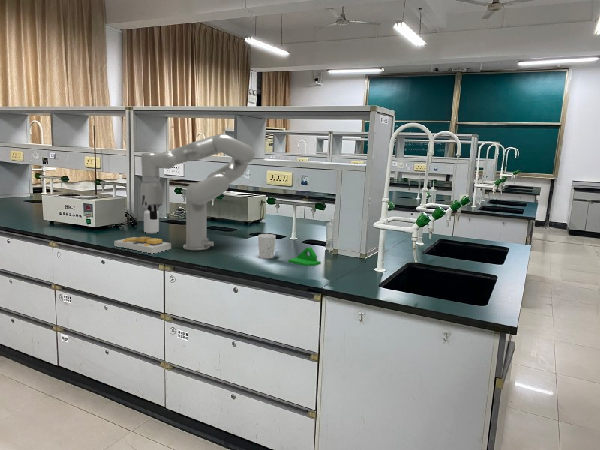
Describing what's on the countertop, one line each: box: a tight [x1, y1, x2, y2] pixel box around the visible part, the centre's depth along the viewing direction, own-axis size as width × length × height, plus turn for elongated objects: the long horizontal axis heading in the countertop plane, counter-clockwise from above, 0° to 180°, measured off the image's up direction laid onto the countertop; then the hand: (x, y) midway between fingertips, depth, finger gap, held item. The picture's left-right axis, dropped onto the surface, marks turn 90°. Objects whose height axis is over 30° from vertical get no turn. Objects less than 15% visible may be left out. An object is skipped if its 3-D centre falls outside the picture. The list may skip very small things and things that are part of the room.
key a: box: [146, 237, 163, 246], centre depth 209 cm, size 5×5×3 cm
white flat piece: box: [113, 236, 172, 255], centre depth 212 cm, size 24×12×4 cm, turn 63°
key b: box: [135, 235, 152, 244], centre depth 212 cm, size 5×5×3 cm
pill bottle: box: [143, 208, 160, 234], centre depth 250 cm, size 8×8×15 cm
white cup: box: [257, 233, 277, 260], centre depth 205 cm, size 8×8×10 cm
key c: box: [124, 236, 135, 242], centre depth 216 cm, size 5×5×3 cm
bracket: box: [287, 247, 322, 267], centre depth 197 cm, size 12×8×7 cm, turn 52°
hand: (153, 219), depth 208 cm, fingers closed
